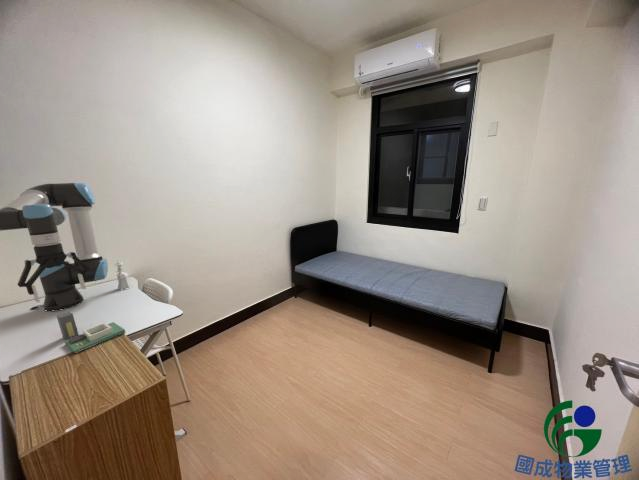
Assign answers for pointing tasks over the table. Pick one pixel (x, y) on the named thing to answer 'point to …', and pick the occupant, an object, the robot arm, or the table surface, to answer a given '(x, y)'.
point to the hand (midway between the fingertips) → (61, 294)
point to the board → (94, 336)
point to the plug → (67, 325)
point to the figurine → (122, 277)
